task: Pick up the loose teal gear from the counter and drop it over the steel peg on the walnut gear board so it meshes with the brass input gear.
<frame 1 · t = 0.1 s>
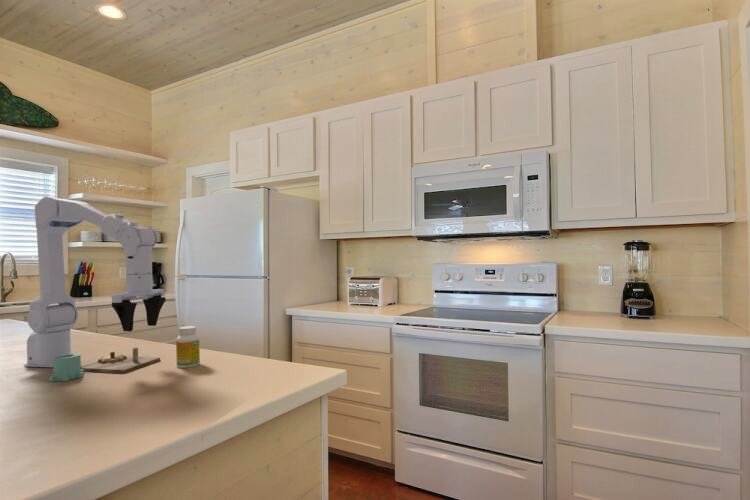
hand: (140, 328, 106), 10 cm above the counter, fingers open, 7 cm apart
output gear: (67, 377, 99), on the counter
supplement bottle: (188, 366, 108), on the counter
gear board: (119, 365, 109), on the counter
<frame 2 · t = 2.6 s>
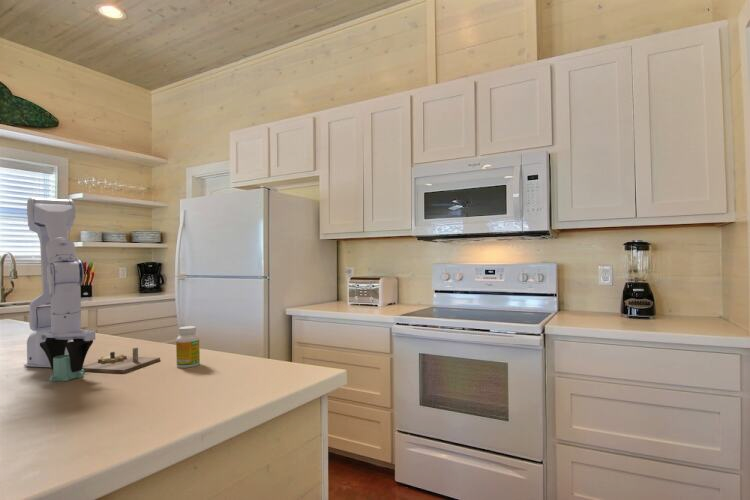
hand: (67, 370, 99), 2 cm above the counter, fingers closed on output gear, 5 cm apart
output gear: (67, 377, 99), on the counter, touching gripper
everything else where it was.
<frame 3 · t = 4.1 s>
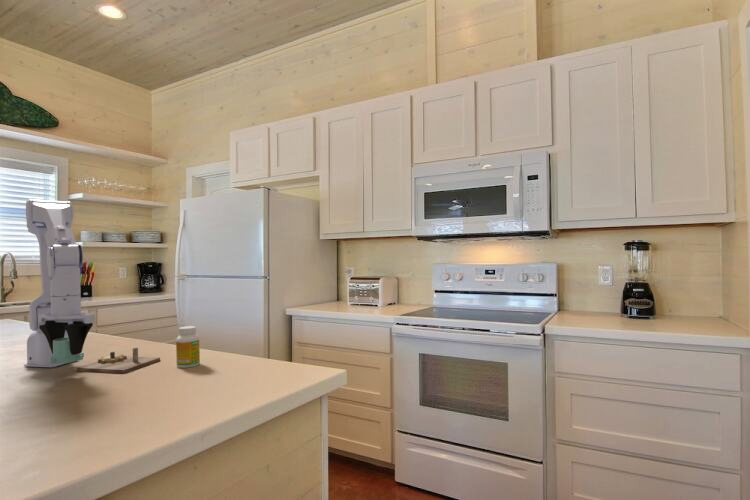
hand: (66, 353, 99), 6 cm above the counter, fingers closed on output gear, 5 cm apart
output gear: (67, 360, 99), point 4 cm above the counter, touching gripper
everything else where it was.
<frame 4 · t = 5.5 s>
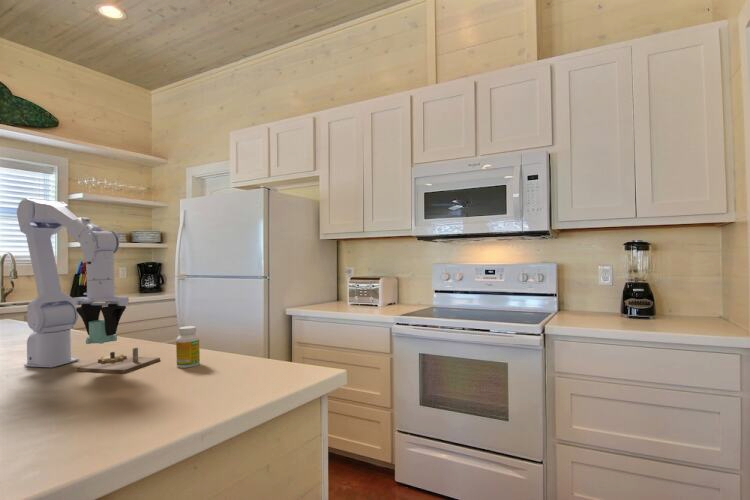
hand: (101, 334, 104), 9 cm above the counter, fingers closed on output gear, 5 cm apart
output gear: (101, 341, 104), point 7 cm above the counter, touching gripper
everything else where it was.
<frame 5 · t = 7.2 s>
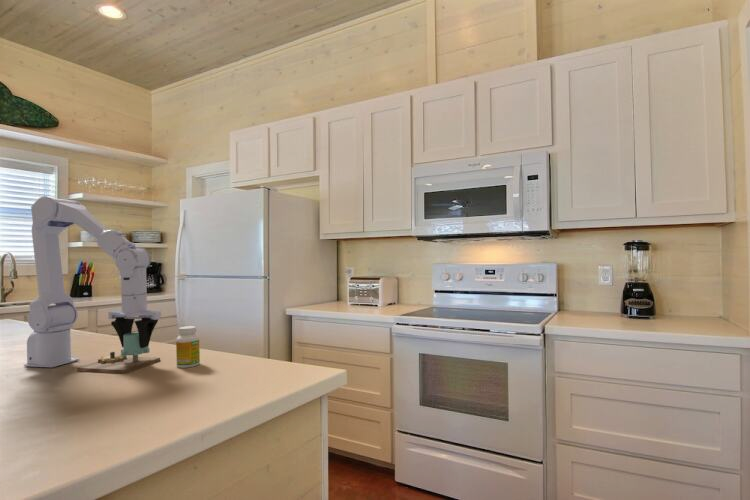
hand: (135, 346, 110), 5 cm above the counter, fingers closed on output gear, 5 cm apart
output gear: (135, 353, 109), point 3 cm above the counter, touching gripper
everything else where it was.
when the fingers open (3 cm above the counter, at t = 8.5 s): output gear stays where it is, resting on gear board.
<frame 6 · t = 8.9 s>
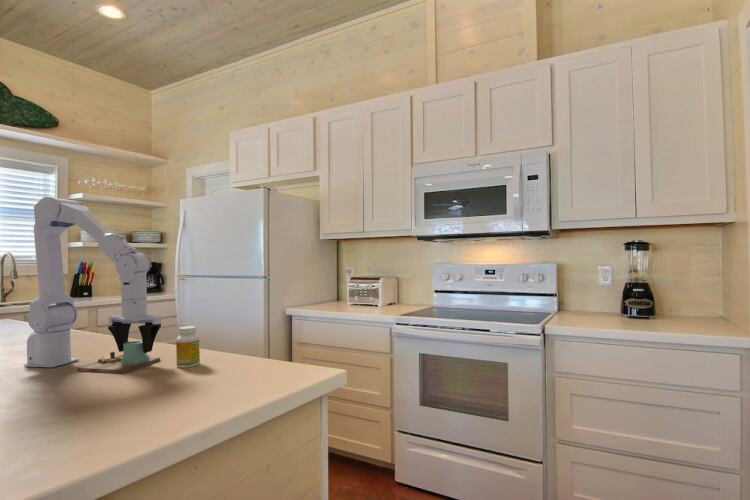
hand: (135, 351, 110), 3 cm above the counter, fingers open, 7 cm apart
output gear: (135, 361, 109), point 1 cm above the counter, touching gear board
everything else where it was.
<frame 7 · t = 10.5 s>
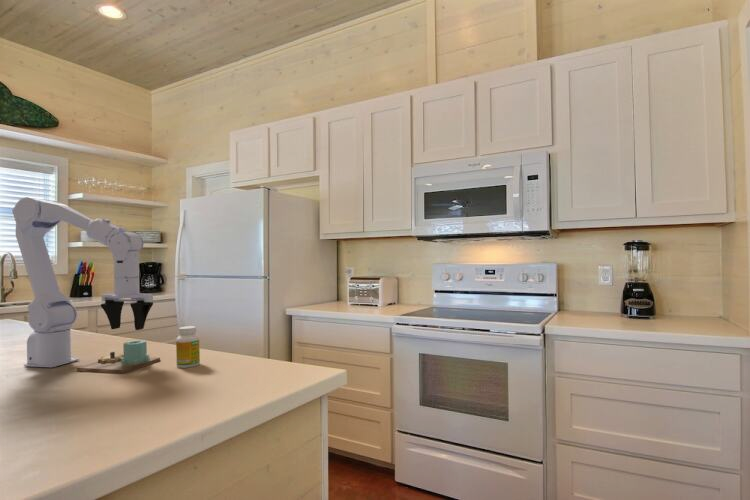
hand: (127, 329, 111), 9 cm above the counter, fingers open, 7 cm apart
nothing on the counter moved.
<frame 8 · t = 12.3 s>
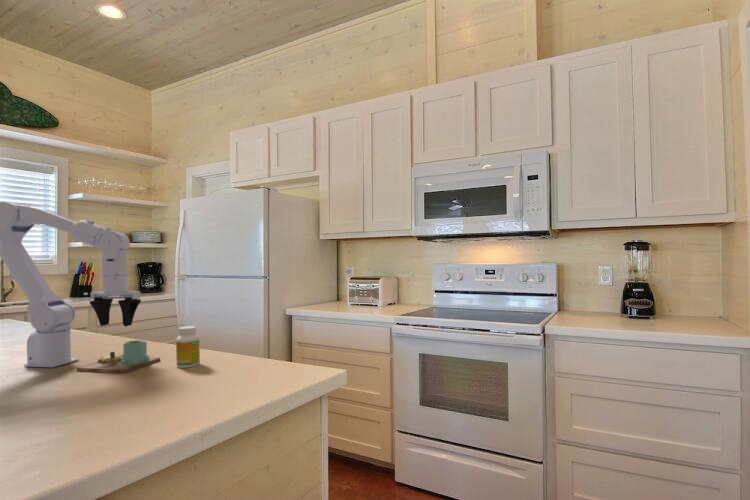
hand: (116, 325, 115), 9 cm above the counter, fingers open, 7 cm apart
nothing on the counter moved.
at the end: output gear 0.0 cm from the target spot on the gear board, point 0.8 cm above the gear board's base; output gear tilted 0°; the gripper is holding nothing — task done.
